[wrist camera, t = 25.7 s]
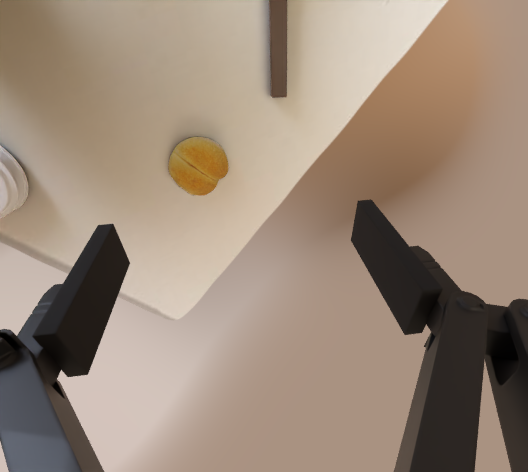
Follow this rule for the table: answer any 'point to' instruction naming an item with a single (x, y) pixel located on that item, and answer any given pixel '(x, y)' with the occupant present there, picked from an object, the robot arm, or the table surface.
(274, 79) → the brown orange rod
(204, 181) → the bread roll
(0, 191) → the lid
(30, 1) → the table surface
